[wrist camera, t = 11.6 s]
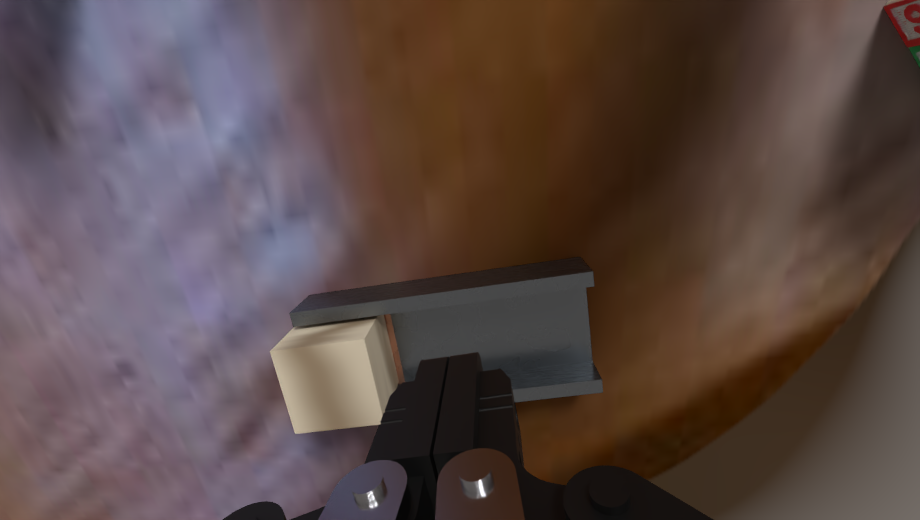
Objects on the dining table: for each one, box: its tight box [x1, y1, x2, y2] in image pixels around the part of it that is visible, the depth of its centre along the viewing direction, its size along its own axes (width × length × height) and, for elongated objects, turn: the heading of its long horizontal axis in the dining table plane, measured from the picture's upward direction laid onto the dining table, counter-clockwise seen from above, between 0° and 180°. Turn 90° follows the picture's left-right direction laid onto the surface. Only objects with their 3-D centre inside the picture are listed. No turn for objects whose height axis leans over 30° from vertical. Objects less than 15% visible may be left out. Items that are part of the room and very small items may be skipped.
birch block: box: [270, 315, 399, 434], centre depth 29 cm, size 6×6×5 cm
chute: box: [290, 257, 603, 402], centre depth 30 cm, size 20×9×4 cm, turn 99°
